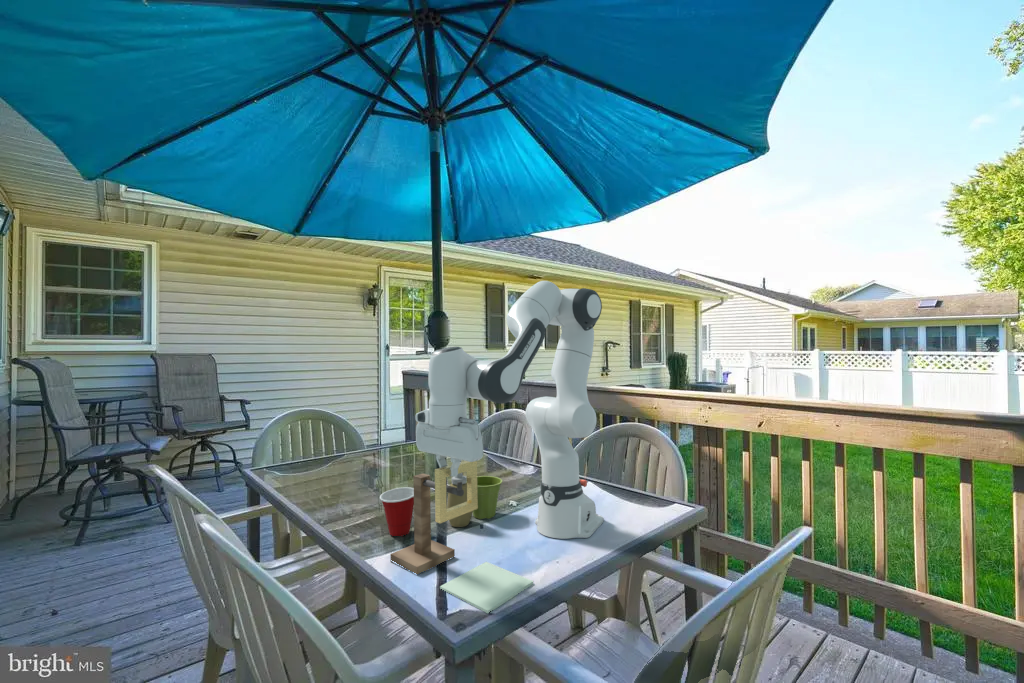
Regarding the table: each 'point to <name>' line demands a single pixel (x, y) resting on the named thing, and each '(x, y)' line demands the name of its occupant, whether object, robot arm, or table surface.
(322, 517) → the table surface
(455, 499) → the squeeze bottle
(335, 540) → the table surface
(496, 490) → the plant pot
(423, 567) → the hook stand
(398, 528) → the plastic cup
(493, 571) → the sage mat
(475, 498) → the yellow picture frame
